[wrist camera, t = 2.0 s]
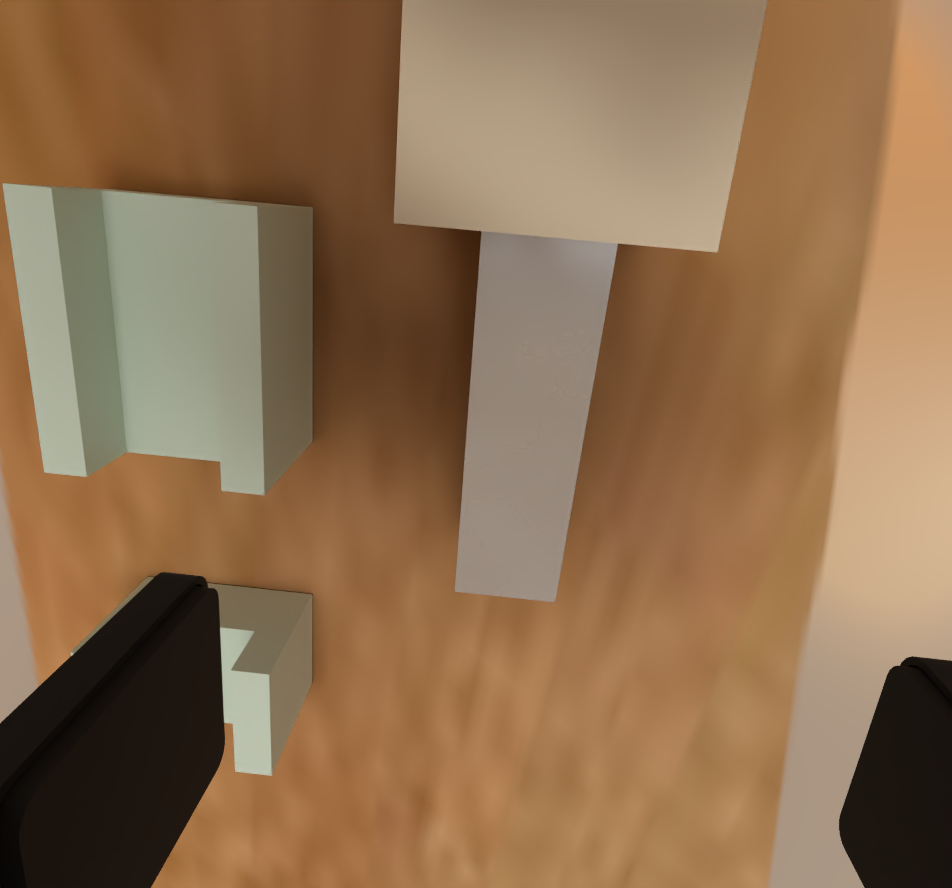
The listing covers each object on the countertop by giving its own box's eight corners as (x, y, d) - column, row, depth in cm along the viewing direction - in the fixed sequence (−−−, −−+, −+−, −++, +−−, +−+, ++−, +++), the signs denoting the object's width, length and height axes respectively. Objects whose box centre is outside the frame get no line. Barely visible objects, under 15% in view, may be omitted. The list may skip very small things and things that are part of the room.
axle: (510, -57, 14) (505, -85, 12) (648, -46, 14) (673, -72, 12) (463, 530, 22) (454, 591, 20) (552, 540, 22) (554, 602, 20)
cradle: (111, 188, 20) (2, 183, 16) (313, 207, 20) (257, 206, 16) (156, 665, 26) (85, 753, 22) (312, 682, 26) (271, 775, 22)
